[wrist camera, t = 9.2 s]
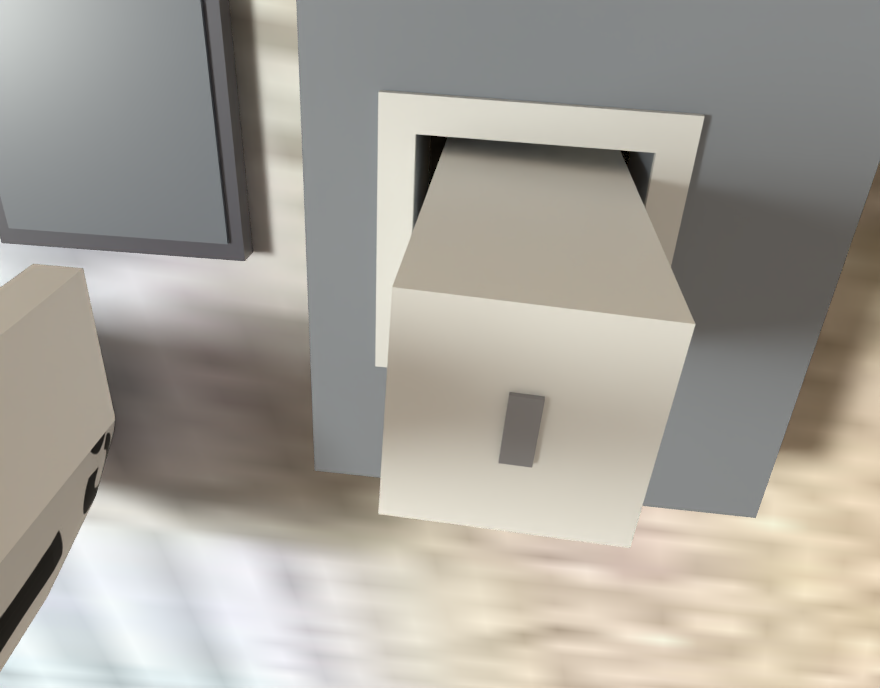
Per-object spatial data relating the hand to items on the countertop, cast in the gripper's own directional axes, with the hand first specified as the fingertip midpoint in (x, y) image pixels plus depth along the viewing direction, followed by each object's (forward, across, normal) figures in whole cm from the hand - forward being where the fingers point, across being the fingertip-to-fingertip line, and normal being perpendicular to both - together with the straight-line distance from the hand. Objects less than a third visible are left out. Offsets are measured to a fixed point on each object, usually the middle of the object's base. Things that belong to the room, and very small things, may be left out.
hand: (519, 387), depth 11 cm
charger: (+9, 0, -1) cm, 9 cm away
